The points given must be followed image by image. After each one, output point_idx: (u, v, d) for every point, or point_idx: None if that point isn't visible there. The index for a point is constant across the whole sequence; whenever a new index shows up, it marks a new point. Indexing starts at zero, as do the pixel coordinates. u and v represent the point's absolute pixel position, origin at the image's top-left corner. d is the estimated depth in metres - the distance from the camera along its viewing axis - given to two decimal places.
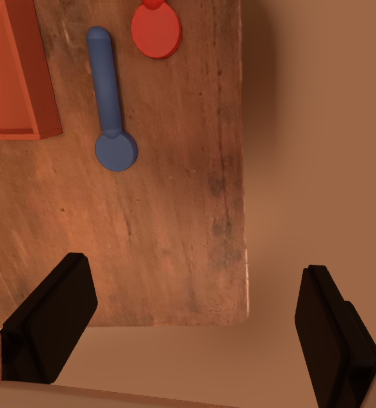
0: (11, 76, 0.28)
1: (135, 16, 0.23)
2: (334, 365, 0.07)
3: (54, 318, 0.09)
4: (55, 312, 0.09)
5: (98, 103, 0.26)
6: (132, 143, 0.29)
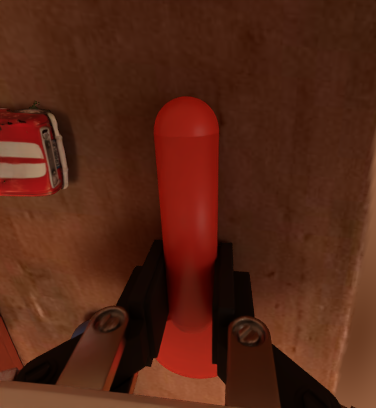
0: None
1: None
2: None
3: (158, 298, 0.10)
4: (158, 292, 0.10)
5: None
6: None
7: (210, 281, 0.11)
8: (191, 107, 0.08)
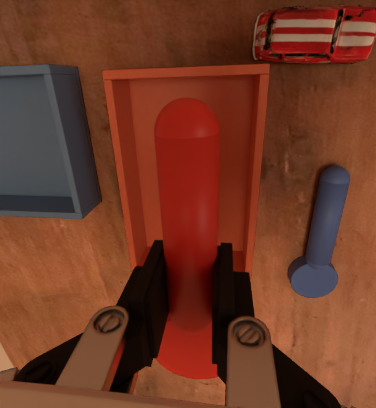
0: None
1: None
2: None
3: (158, 298, 0.10)
4: (158, 292, 0.10)
5: (319, 241, 0.24)
6: (336, 272, 0.26)
7: (210, 282, 0.11)
8: (192, 108, 0.08)
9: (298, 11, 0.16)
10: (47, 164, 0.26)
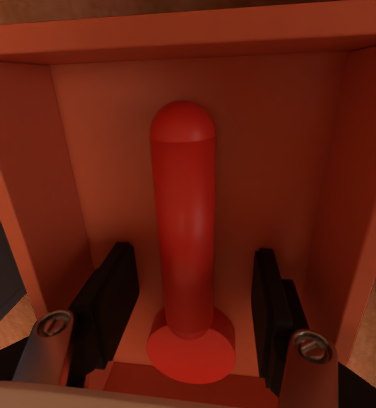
0: (226, 303, 0.13)
1: (155, 337, 0.13)
2: (264, 329, 0.08)
3: (112, 301, 0.10)
4: (113, 295, 0.10)
5: None
6: None
7: (207, 287, 0.11)
8: (187, 112, 0.08)
9: None
10: None
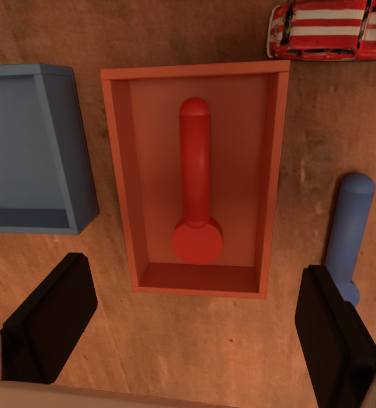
0: (217, 214, 0.23)
1: (177, 231, 0.22)
2: (334, 365, 0.07)
3: (54, 318, 0.09)
4: (55, 312, 0.09)
5: (340, 256, 0.21)
6: (357, 290, 0.24)
7: (206, 194, 0.20)
8: (197, 102, 0.18)
9: (322, 0, 0.14)
10: (39, 174, 0.23)
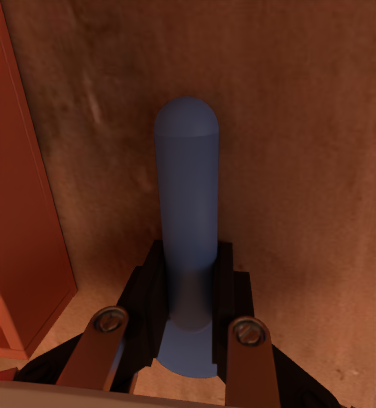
0: None
1: None
2: None
3: (158, 298, 0.10)
4: (159, 292, 0.10)
5: (174, 277, 0.10)
6: None
7: None
8: None
9: None
10: None
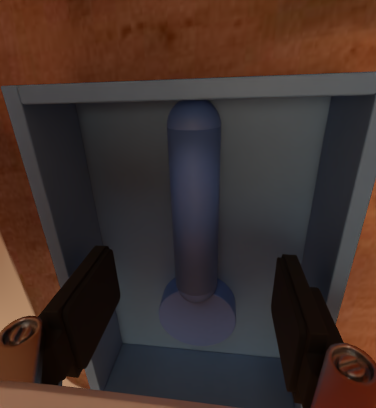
0: None
1: None
2: (295, 342, 0.08)
3: (86, 307, 0.10)
4: (87, 301, 0.10)
5: (182, 250, 0.12)
6: (233, 305, 0.15)
7: None
8: None
9: None
10: (240, 184, 0.13)
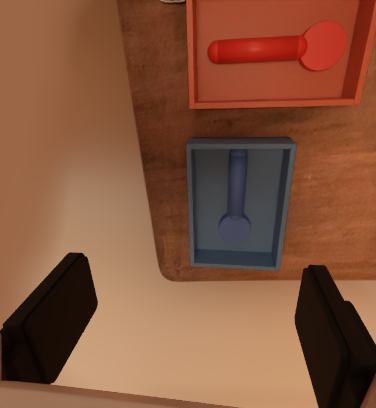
0: (299, 30, 0.27)
1: (308, 65, 0.27)
2: (334, 365, 0.07)
3: (54, 318, 0.09)
4: (55, 312, 0.09)
5: (232, 197, 0.34)
6: (249, 223, 0.36)
7: (276, 38, 0.27)
8: (209, 48, 0.28)
9: None
10: (253, 174, 0.34)
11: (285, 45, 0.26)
